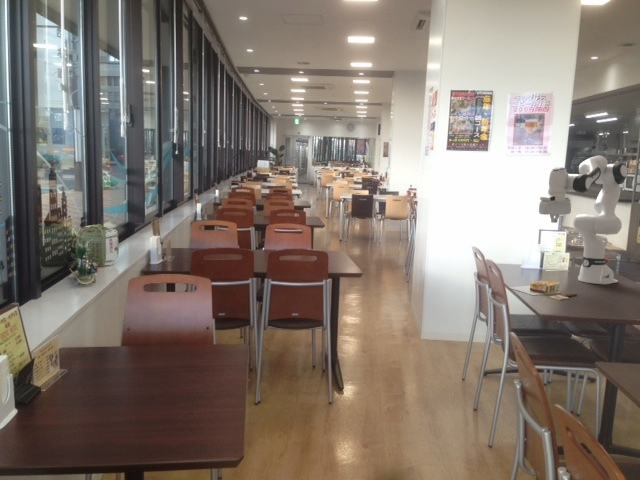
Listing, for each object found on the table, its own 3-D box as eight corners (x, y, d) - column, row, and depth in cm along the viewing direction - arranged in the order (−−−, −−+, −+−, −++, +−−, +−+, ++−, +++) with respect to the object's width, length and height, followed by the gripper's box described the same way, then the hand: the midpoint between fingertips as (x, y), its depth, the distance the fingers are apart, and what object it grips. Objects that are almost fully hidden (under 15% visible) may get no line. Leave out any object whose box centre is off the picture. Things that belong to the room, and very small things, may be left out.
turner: (570, 293, 306) (570, 291, 306) (580, 296, 301) (581, 293, 301) (548, 298, 296) (549, 295, 296) (559, 300, 291) (559, 297, 291)
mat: (536, 285, 325) (536, 285, 324) (562, 292, 308) (562, 292, 308) (508, 288, 316) (508, 287, 316) (533, 295, 300) (533, 294, 300)
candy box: (560, 282, 313) (545, 285, 303) (559, 290, 313) (545, 293, 303) (544, 279, 319) (530, 282, 309) (544, 287, 320) (529, 290, 310)
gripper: (565, 196, 327) (563, 221, 329) (537, 196, 319) (535, 222, 321) (574, 197, 321) (572, 222, 323) (546, 197, 313) (544, 223, 315)
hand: (554, 222), depth 322 cm, fingers closed
